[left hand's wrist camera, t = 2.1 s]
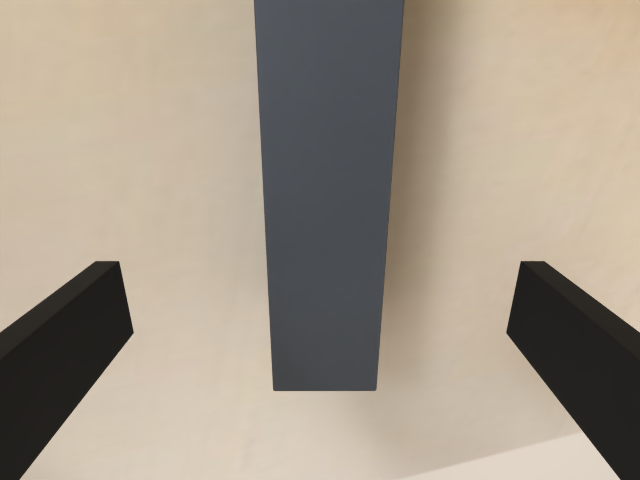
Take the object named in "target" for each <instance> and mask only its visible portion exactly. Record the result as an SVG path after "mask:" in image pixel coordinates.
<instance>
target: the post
mask: <svg viewBox="0 0 640 480" xmlns="http://www.w3.org/2000/svg"><path fill="white" fill-rule="evenodd" d="M254 11H255V31H256V52H257V72H258V92H259V113H260V133H261V153H262V173H263V194H264V214H265V234H266V255H267V275H268V295H269V315H270V336H271V356H272V376H273V390H274V391H375V390H376V387H377V373H378V359H379V346H380V332H381V318H382V304H383V290H384V276H385V262H386V248H387V234H388V220H389V206H390V193H391V179H392V165H393V151H394V137H395V123H396V109H397V95H398V81H399V67H400V53H401V40H402V26H403V12H404V0H254Z"/></svg>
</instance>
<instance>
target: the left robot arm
mask: <svg viewBox="0 0 640 480" xmlns="http://www.w3.org/2000/svg"><path fill="white" fill-rule="evenodd" d="M133 333H134V332H133V327H132V322H131V317H130V312H129V307H128V302H127V297H126V293H125V288H124V283H123V278H122V273H121V268H120V263H119V261H95V262H94V263H93V264H91V265H90V266H89V267H87V268H86V269H85V270H83V271H82V272H81V273H79V274H78V275H77V276H75V277H74V278H73V279H71V280H70V281H69V282H67V283H66V284H65V285H63V286H62V287H61V288H59V289H58V290H57V291H55V292H54V293H53V294H51V295H50V296H49V297H47V298H46V299H45V300H43V301H42V302H41V303H39V304H38V305H37V306H35V307H34V308H33V309H31V310H30V311H28V312H27V313H26V314H24V315H23V316H22V317H20V318H19V319H18V320H16V321H15V322H14V323H12V324H11V325H10V326H8V327H7V328H6V329H4V330H3V331H2V332H0V480H20V478H21V477H22V476H23V474H24V473H25V472H26V471H27V469H28V468H29V467H30V465H31V464H32V463H33V462H34V460H35V459H36V458H37V456H38V455H39V454H40V453H41V451H42V450H43V449H44V447H45V446H46V445H47V444H48V442H49V441H50V440H51V438H52V437H53V436H54V435H55V433H56V432H57V431H58V429H59V428H60V427H61V426H62V424H63V423H64V422H65V420H66V419H67V418H68V417H69V415H70V414H71V413H72V411H73V410H74V409H75V408H76V406H77V405H78V404H79V403H80V401H81V400H82V399H83V397H84V396H85V395H86V394H87V392H88V391H89V390H90V388H91V387H92V386H93V385H94V383H95V382H96V381H97V379H98V378H99V377H100V376H101V374H102V373H103V372H104V370H105V369H106V368H107V367H108V365H109V364H110V363H111V361H112V360H113V359H114V358H115V356H116V355H117V354H118V352H119V351H120V350H121V349H122V347H123V346H124V345H125V343H126V342H127V341H128V340H129V338H130V337H131V336H132V334H133ZM506 333H507V334H508V336H509V337H510V338H511V340H512V341H513V342H514V343H515V345H516V346H517V347H518V349H519V350H520V351H521V352H522V354H523V355H524V356H525V358H526V359H527V360H528V361H529V363H530V364H531V365H532V367H533V368H534V369H535V370H536V372H537V373H538V374H539V376H540V377H541V378H542V379H543V381H544V382H545V383H546V385H547V386H548V387H549V388H550V390H551V391H552V392H553V394H554V395H555V396H556V397H557V399H558V400H559V401H560V403H561V404H562V405H563V406H564V408H565V409H566V410H567V411H568V413H569V414H570V415H571V417H572V418H573V419H574V420H575V422H576V423H577V424H578V426H579V427H580V428H581V429H582V431H583V432H584V433H585V435H586V436H587V437H588V438H589V440H590V441H591V442H592V444H593V445H594V446H595V447H596V449H597V450H598V451H599V453H600V454H601V455H602V456H603V458H604V459H605V460H606V462H607V463H608V464H609V465H610V467H611V468H612V469H613V471H614V472H615V473H616V474H617V476H618V477H619V478H620V480H640V332H638V331H637V330H636V329H634V328H633V327H632V326H630V325H629V324H628V323H626V322H625V321H624V320H622V319H621V318H620V317H618V316H617V315H616V314H614V313H613V312H612V311H610V310H609V309H607V308H606V307H605V306H603V305H602V304H601V303H599V302H598V301H597V300H595V299H594V298H593V297H591V296H590V295H589V294H587V293H586V292H585V291H583V290H582V289H581V288H579V287H578V286H577V285H575V284H574V283H573V282H571V281H570V280H569V279H567V278H566V277H565V276H563V275H562V274H561V273H559V272H558V271H557V270H555V269H554V268H553V267H551V266H550V265H549V264H547V263H546V262H545V261H521V263H520V268H519V273H518V278H517V283H516V288H515V293H514V297H513V302H512V307H511V312H510V317H509V322H508V327H507V332H506Z"/></svg>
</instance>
